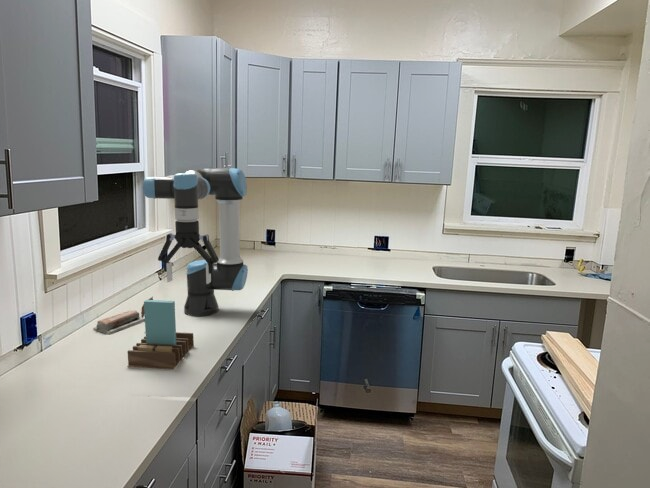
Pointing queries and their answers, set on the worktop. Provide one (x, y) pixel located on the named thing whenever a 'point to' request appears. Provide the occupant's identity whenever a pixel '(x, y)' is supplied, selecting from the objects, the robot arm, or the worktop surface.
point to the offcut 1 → (146, 348)
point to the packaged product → (119, 322)
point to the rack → (161, 353)
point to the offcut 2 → (163, 349)
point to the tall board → (160, 322)
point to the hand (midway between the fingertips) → (189, 281)
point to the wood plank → (143, 307)
